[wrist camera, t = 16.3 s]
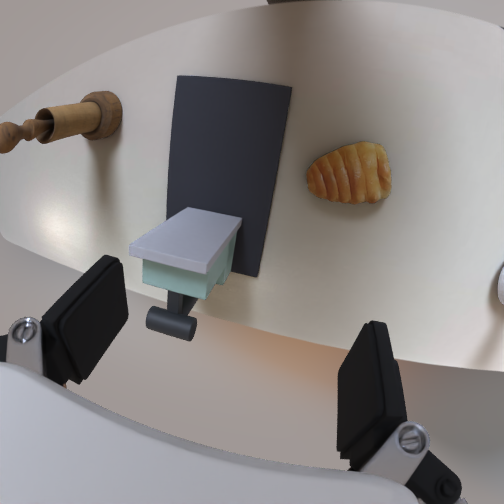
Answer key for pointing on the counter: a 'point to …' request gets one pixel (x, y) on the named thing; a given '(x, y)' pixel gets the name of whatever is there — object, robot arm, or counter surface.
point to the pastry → (351, 174)
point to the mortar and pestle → (67, 121)
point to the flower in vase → (501, 286)
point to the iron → (185, 264)
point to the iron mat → (228, 155)
